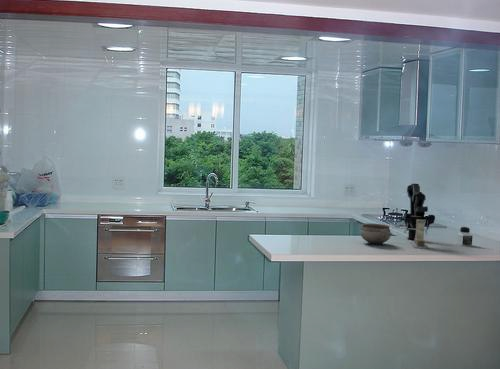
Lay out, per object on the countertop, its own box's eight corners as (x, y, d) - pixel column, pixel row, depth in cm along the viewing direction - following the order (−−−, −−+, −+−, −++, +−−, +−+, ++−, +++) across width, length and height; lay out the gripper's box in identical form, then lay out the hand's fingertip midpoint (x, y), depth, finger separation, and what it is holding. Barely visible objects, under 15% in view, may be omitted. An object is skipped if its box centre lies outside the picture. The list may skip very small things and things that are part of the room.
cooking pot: (350, 242, 390) (351, 223, 389) (369, 240, 402) (370, 222, 401) (381, 248, 370) (382, 228, 370) (400, 245, 383) (401, 226, 382)
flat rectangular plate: (409, 243, 396) (410, 237, 396) (423, 244, 395) (424, 238, 395) (413, 248, 376) (414, 241, 376) (428, 248, 375) (429, 242, 375)
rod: (415, 239, 388) (416, 219, 387) (422, 239, 387) (423, 219, 386) (416, 240, 383) (417, 219, 383) (423, 240, 383) (424, 220, 382)
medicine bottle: (462, 245, 395) (463, 227, 394) (456, 244, 402) (457, 226, 401) (472, 245, 397) (473, 227, 396) (465, 244, 404) (467, 226, 403)
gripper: (405, 200, 389) (407, 219, 379) (435, 202, 387) (437, 221, 376) (403, 211, 397) (404, 230, 387) (432, 213, 395) (434, 232, 385)
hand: (420, 228), depth 383 cm, fingers open, 9 cm apart
